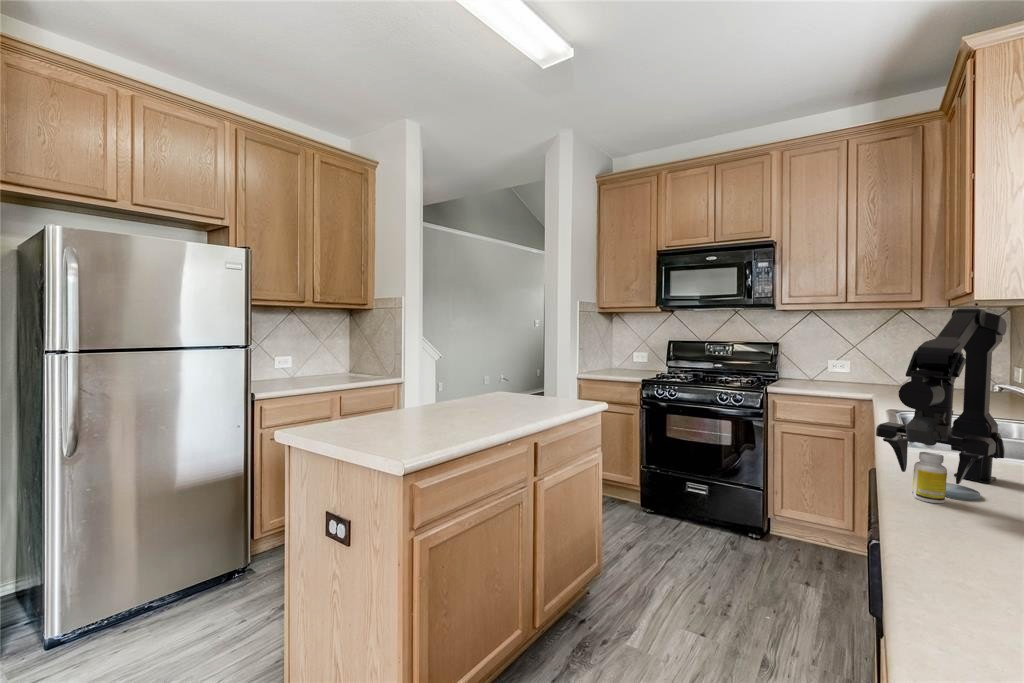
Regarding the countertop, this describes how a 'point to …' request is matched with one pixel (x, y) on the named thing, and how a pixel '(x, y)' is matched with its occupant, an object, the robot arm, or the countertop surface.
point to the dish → (961, 492)
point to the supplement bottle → (929, 478)
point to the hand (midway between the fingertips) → (929, 477)
